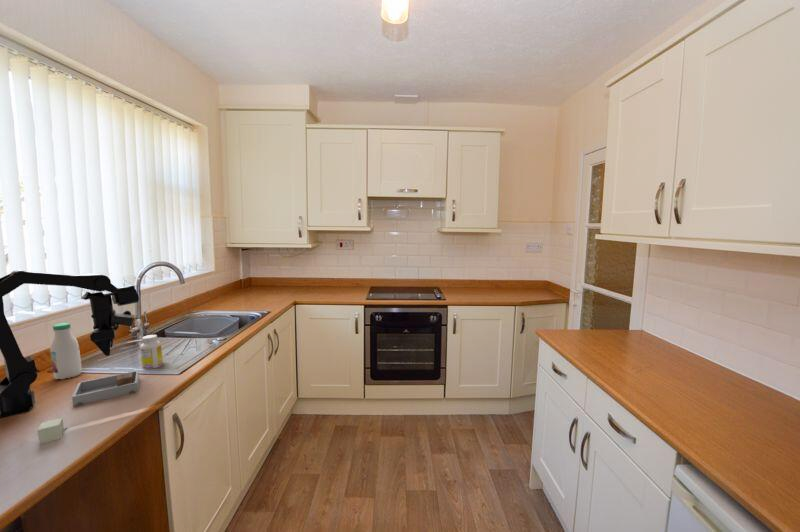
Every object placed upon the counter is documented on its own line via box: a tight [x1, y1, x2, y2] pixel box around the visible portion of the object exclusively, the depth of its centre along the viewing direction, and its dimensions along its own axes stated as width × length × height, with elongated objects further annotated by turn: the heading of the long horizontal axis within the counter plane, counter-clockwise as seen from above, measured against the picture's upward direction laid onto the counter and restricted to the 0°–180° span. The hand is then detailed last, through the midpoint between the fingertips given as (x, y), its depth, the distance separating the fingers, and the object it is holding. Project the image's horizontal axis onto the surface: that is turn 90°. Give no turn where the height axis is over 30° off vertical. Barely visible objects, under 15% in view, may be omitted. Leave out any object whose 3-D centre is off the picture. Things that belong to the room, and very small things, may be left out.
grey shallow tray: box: [71, 370, 140, 407], centre depth 116 cm, size 16×13×4 cm
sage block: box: [37, 417, 65, 445], centre depth 92 cm, size 4×4×4 cm
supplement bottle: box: [139, 334, 164, 370], centre depth 136 cm, size 7×7×13 cm
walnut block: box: [117, 372, 133, 386], centre depth 118 cm, size 4×4×4 cm
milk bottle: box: [49, 322, 83, 380], centre depth 128 cm, size 8×8×20 cm
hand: (109, 351), depth 123 cm, fingers open, 9 cm apart
